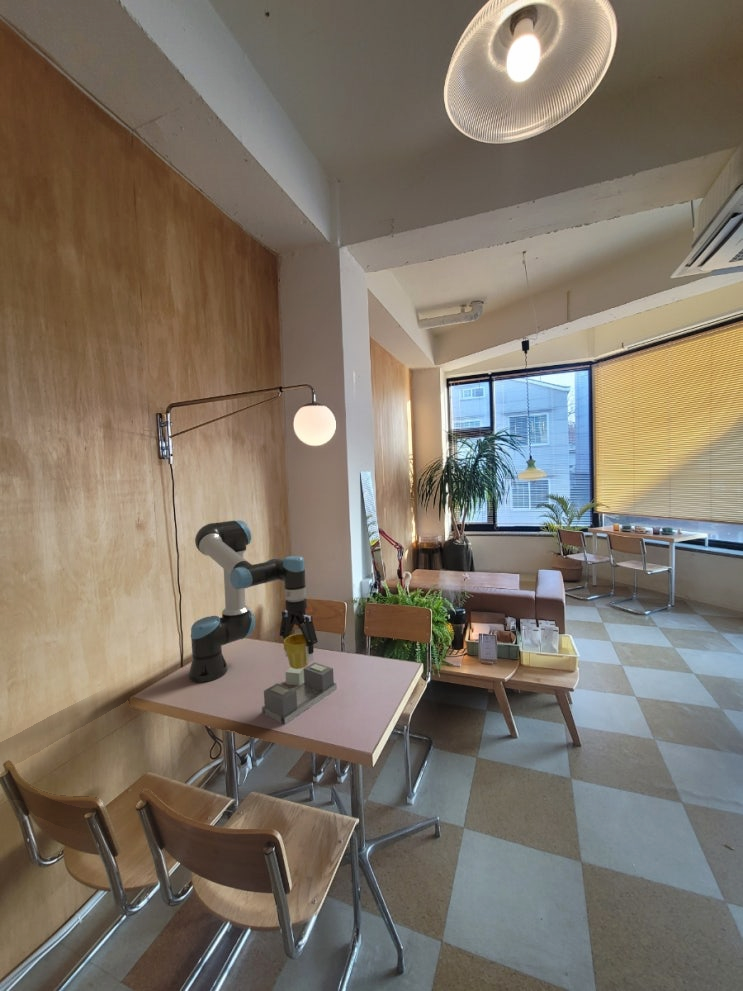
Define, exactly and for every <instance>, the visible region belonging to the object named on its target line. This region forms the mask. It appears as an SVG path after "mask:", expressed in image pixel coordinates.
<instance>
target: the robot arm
mask: <svg viewBox="0 0 743 991" xmlns="http://www.w3.org/2000/svg"><path fill="white" fill-rule="evenodd" d="M251 541H252V533H251V529H250V527H249V525H248V524H247V523H246V522H245V521H244V520H228V521H219V522H211V523H207V524H205V525H204V526H201V528H200V529H199V530H198V531H197V533H196V536H195V538H194V543H195V547H196V549H197V550H198V552H200V553H201V554H203V555H204V556H208V557H210V558H211V559H212V560H213V561H214V562H215V563H216V564H218V565H219V566H220V567H221V568H222V569H223V582H224V583H223V585H224V606H225V607H224V609H222V612H221V617H219V616H218V615H210V616H205V617H203V618H200V619H198V620H196V621H195V622H194V623H193V624H192V625H191V627H190V628H191V629H190V640H191V651H192V652H191V653H192V655H191V656H192V659H191V660H192V661H191V663H190V664H191V665H190V667H189V671H188V678H190V679H189V680H190V681H191V680H192V681H191V682H193V681H195V682H194V683H205V681H207V682H211V680H212V681H214V680H217V679H219V678H221V677H223V676H224V675H225V674H226V673H227V672H228V664H227V661H226V660H225V657H224V655H223V652H222V646H224V645H227V644H230V643H233V642H236V641H239V640H243V639H245V638H248V637H250V636H251V635H252V634H253V633H254V630H255V626H256V620H255V617H254V613H253V611H251V610H250V607H248V606H247V605H246V592H245V591H246V590H245V589H248V588H250V587H251V588H252V587H255V586H258V585H262V584H267V583H271V582H275V581H283V582H284V583H283V584H284V594H285V610H282V611H281V623H280V629H279V636H280V637H282V638H283V640H284V639H285V638H286V637H288V636H290V635H292V632H293V629H294V627H295V625H296V626H297V627H298V628H299V629H300V631H301V633H302V634H303V636H304V639H305V641H306V643H307V645H305V649H306V663H307V664H308V665H309V664H311V663H313V662H314V650H315V649H314V645H315V644H317V643H319V641H318V638H317V632H316V630H315V626H314V622H313V615H312V614H310V615H307V612H306V609H307V608H308V605H307V587H306V565H305V560H304V557H303V556H302V555H290V556H286V557H284V558H283V559H281V558H269V559H268V560H266V561H265V562H260V563H259V562H258V563H255V564H252V563H250V562H249V561H248V560H246V559H245V558H244V553H245V552H246V551H247V546H249V545H250V544H251ZM309 640H310V641H309ZM284 652H285V657H287V658H288V656H287V653H286V651H285V650H284Z"/></svg>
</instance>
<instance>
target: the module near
mask: <svg viewBox="0 0 743 991" xmlns="http://www.w3.org/2000/svg"><path fill="white" fill-rule="evenodd" d="M263 697H264V698H263V700H264V702H263V703H264V706H265V708H267V709H269V710H271V711H273V712H275V713H277V714H279V715H281V716H285V715H287V714H288V713H290V712H291V711H293V710H294V709H296V708H297V695H296V691H295V690H293V688H289V687H287V686H285V685H282V684H281V683H275V684H273V685H271V686H270V687H268V688H266V689H264V690H263Z"/></svg>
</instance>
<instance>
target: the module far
mask: <svg viewBox="0 0 743 991" xmlns="http://www.w3.org/2000/svg"><path fill="white" fill-rule="evenodd" d="M303 669H304V681H303V682H304V684H307V685H309V686H312V687H314V688H317V689H320V690H325V689H326V688H328V687H329V686H331V685H332V684H334V683H335V680H334V678H335V677H334V668H333V667H329V666H327V665H323V664H321V663H318V662H314V661H313V662H312V663H310V664H308V665H307V666H306V667H304V668H303Z"/></svg>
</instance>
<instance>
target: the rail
mask: <svg viewBox="0 0 743 991" xmlns="http://www.w3.org/2000/svg"><path fill="white" fill-rule="evenodd" d="M292 689H293V690H295V691H296V695H297V708H296V709H294V710H293V711H291V712H290V713H288V714H287V715H285V716H281V715H279V714H277V713H275V712H273V711H271V710H269V709H267V708H265V705H263V706H262V707H261V713H262V714H263V715H265V716H267V717H270V718H272V719H274V720H276V721H277V722H280V723H282V724H284V725H286V724H288V723H289V722H290V721H292V720H293V719H295V718H297V717H298V716H299V715H301V714H303V712H305V711H307V710H308V709H310V708H311V707H312V706H314V705H316V704H317V703H319V702H320V701H322V700H323V699H324V698H326V697H327V696H329V695H330V694H331V693H333V692H335V691H336V690H337V689H338V686H337V683H335V682H334V684H332V685H331V686H329V687H328V688H326V689H325V690H320V689H317V688H314V687H312V686H309V685H307V684H304V681H303V682H302V684H300V685H296V686H295V687H293V688H292Z"/></svg>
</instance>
